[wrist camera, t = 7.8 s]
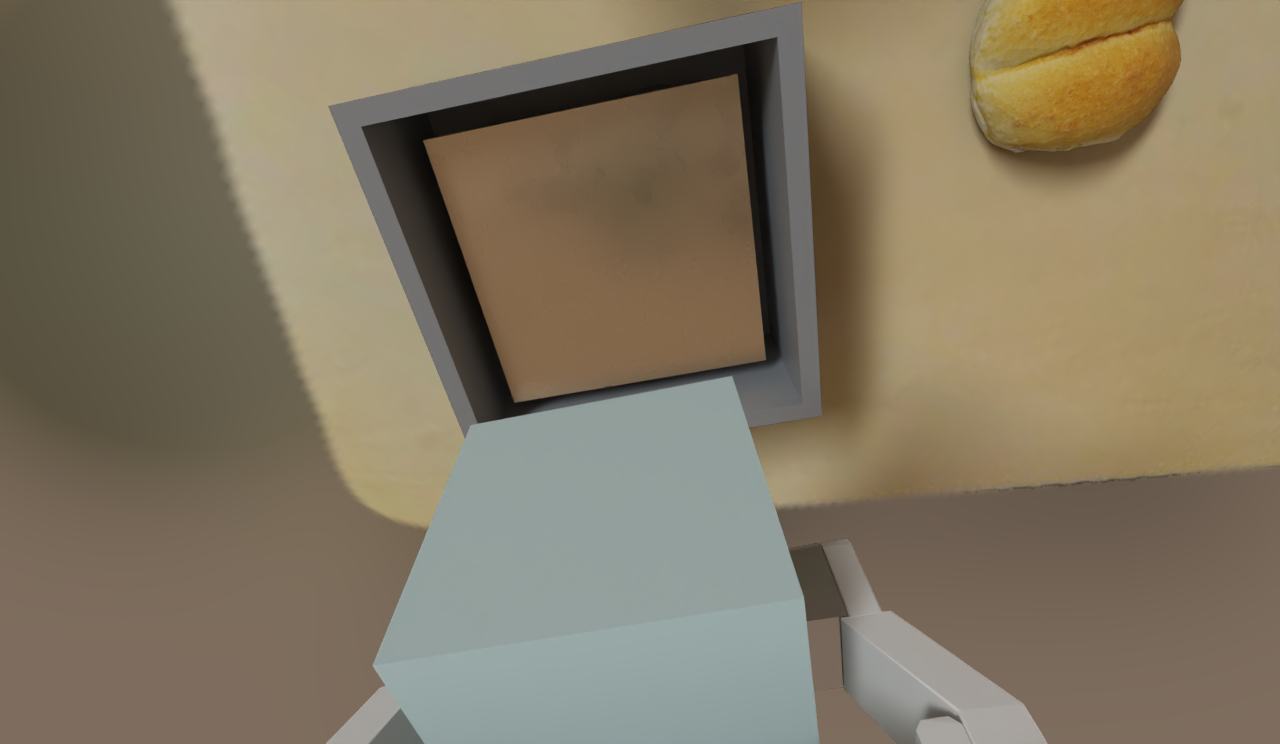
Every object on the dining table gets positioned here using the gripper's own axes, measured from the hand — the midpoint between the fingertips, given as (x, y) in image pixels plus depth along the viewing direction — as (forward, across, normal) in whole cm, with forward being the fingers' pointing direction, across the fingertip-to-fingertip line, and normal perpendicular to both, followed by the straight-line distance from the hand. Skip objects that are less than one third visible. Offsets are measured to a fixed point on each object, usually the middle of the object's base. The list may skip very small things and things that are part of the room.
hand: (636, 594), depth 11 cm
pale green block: (+2, 0, 0) cm, 2 cm away
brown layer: (+21, 0, -1) cm, 21 cm away
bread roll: (+22, -20, -5) cm, 30 cm away
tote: (+22, 0, -1) cm, 22 cm away
